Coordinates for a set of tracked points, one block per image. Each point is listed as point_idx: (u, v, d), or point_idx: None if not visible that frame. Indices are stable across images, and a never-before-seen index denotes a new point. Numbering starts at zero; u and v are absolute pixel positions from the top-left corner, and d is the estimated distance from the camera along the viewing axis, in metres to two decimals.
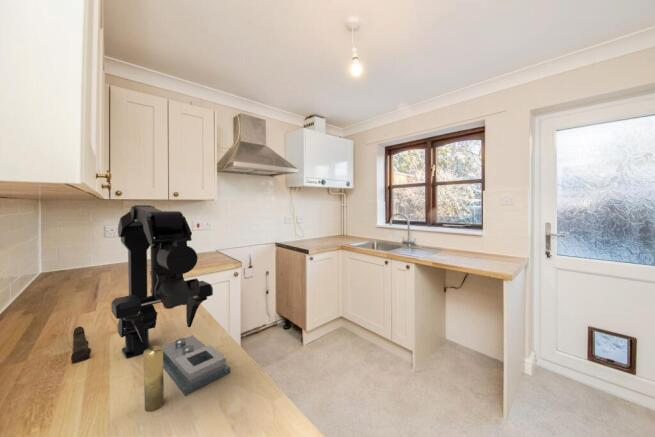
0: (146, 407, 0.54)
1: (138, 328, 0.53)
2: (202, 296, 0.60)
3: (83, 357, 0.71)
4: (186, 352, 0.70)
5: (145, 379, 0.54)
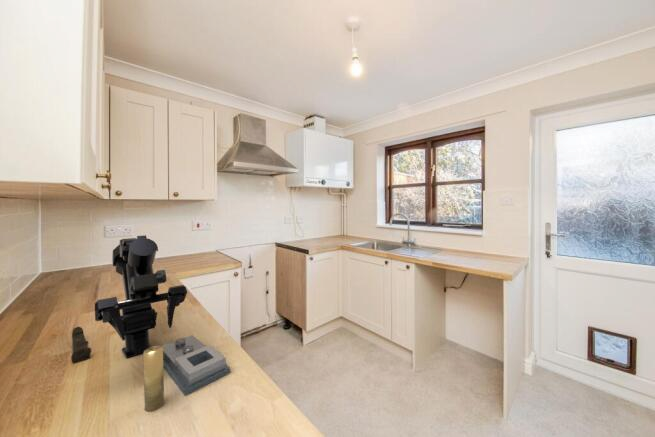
0: (146, 407, 0.54)
1: (117, 323, 0.58)
2: (176, 292, 0.67)
3: (83, 357, 0.71)
4: (186, 352, 0.70)
5: (145, 379, 0.54)
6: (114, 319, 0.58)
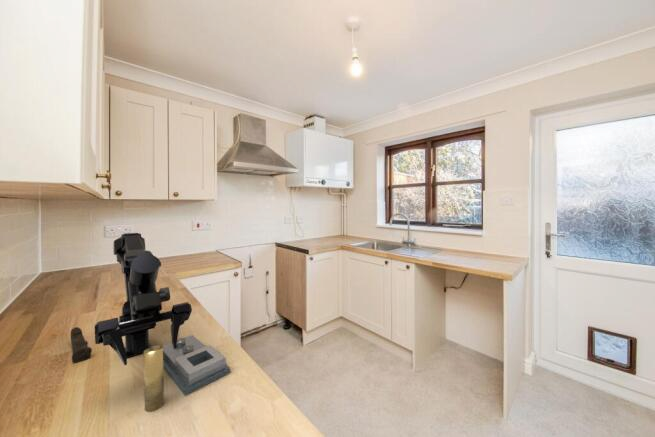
0: (146, 407, 0.54)
1: (118, 347, 0.55)
2: (180, 310, 0.64)
3: (84, 357, 0.72)
4: (186, 352, 0.70)
5: (145, 379, 0.54)
6: (115, 342, 0.55)
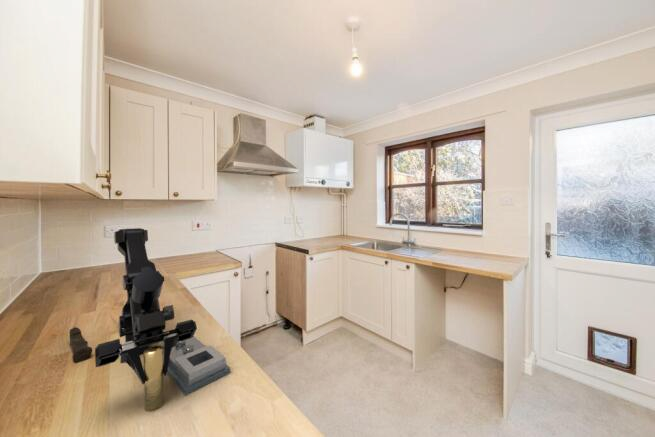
0: (146, 407, 0.54)
1: (136, 365, 0.54)
2: (184, 329, 0.61)
3: (84, 356, 0.72)
4: (186, 352, 0.70)
5: (145, 379, 0.54)
6: (133, 360, 0.54)
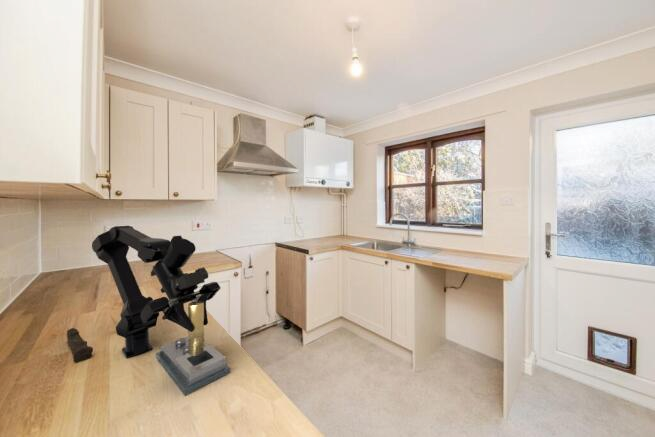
0: (192, 352, 0.63)
1: (184, 317, 0.62)
2: (213, 288, 0.71)
3: (85, 356, 0.72)
4: (186, 352, 0.70)
5: None
6: (180, 313, 0.62)
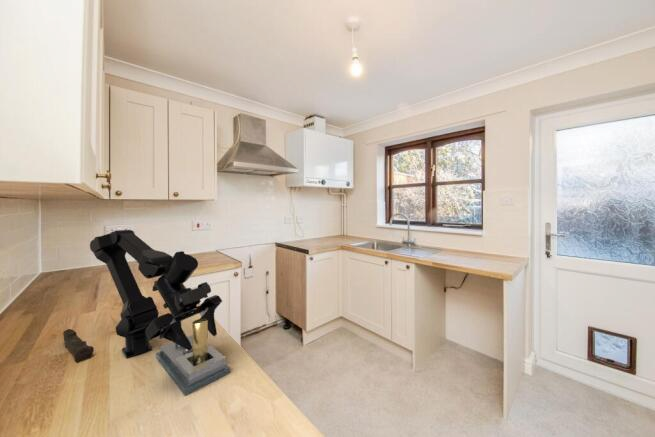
0: None
1: (181, 335, 0.61)
2: (215, 302, 0.72)
3: (86, 356, 0.72)
4: (186, 352, 0.70)
5: (196, 346, 0.64)
6: (178, 332, 0.61)
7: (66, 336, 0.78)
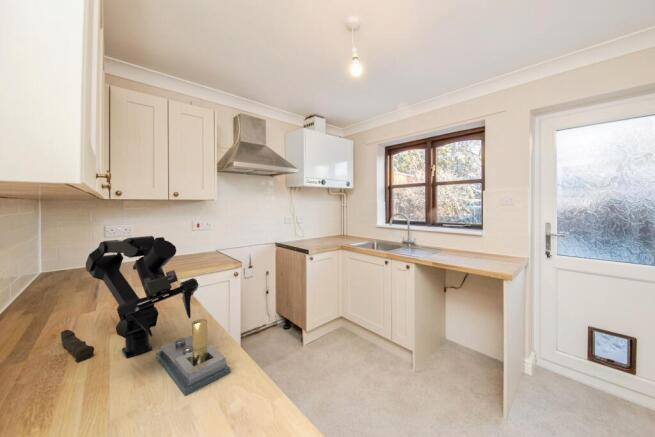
0: None
1: (142, 323, 0.64)
2: (188, 287, 0.72)
3: (87, 355, 0.72)
4: (186, 352, 0.70)
5: (196, 346, 0.64)
6: (138, 320, 0.64)
7: (64, 337, 0.77)
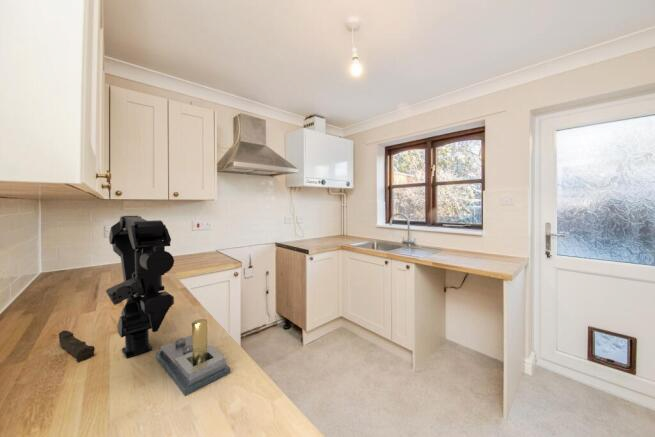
0: None
1: (138, 308, 0.70)
2: (142, 307, 0.60)
3: (88, 355, 0.72)
4: (186, 352, 0.70)
5: (196, 346, 0.64)
6: (137, 303, 0.70)
7: (63, 337, 0.77)
